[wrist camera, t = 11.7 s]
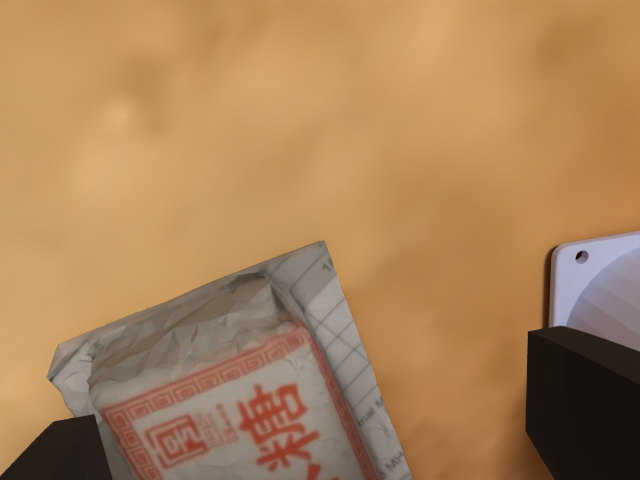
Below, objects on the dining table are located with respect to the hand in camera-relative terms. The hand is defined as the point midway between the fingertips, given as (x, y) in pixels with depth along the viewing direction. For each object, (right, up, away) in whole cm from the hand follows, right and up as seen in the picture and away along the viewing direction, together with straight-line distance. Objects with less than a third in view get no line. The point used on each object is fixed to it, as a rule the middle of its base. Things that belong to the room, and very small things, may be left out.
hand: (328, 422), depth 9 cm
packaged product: (-2, -6, +14) cm, 15 cm away
